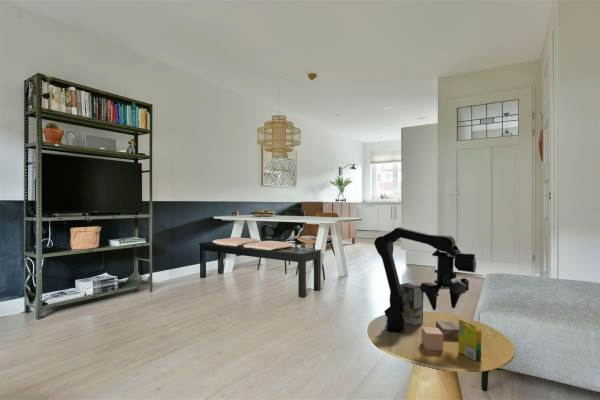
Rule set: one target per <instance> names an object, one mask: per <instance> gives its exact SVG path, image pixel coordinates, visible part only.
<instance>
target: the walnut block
mask: <svg viewBox="0 0 600 400" xmlns="http://www.w3.org/2000/svg"><path fill="white" fill-rule="evenodd" d="M435 328H439V330H440V331H441V332H442V333H443V339H447V340H449V339H450V340H453V339H454V340H459V321H450V320H449V321H448V320H447V321H445V320H444V321H443V320H436V321H435Z"/></svg>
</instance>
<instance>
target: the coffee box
mask: <svg viewBox="0 0 600 400" xmlns="http://www.w3.org/2000/svg"><path fill="white" fill-rule="evenodd" d="M400 286H401V289H402V291H403V292H404V293H408V299H409V301H410V302H409V307H408V309H406V310H405V311H404V313H402V315H403V318H404V323H406V324H409V325H411V326H418V325H422V324H423V323H424V292H423V291H422V290H420V285H417V284H414V283H411V282H405V283H400Z"/></svg>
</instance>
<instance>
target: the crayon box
mask: <svg viewBox="0 0 600 400" xmlns="http://www.w3.org/2000/svg"><path fill="white" fill-rule="evenodd" d="M458 322H459V339H458V353H460V354H462V355H463V356H466V357H467V358H470V359H472V360H473V361H479V360H482V330H479V329H477V327H476V325H473V324H471V323H469V322H466V321H463V320H462V319H458Z"/></svg>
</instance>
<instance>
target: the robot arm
mask: <svg viewBox="0 0 600 400" xmlns="http://www.w3.org/2000/svg"><path fill="white" fill-rule="evenodd" d="M401 238H402V239H405V240H409V241H414V242H417V243H422V244H426V245H429V246H430V247H432V248H433V249H436V250H435V251H434V252H433V253H432V254H431V255H432V256H433V257H437V262H436V263H437V264H436V266H437V267H436V269H434V273H436V279H435V280H434V283H432V282H430V281H429V282H422V283H420V285H419V286H420V290H422V291H423V294H424V293H425V295H426V297H427V299H428V301H429V304H430V306H431V308H432V310H433V311H436V309H437V301H438V300H437V298H438V297H439V296H440V293H439V292H440V290H448V289H449V298H450V305H451V308H452V309H455V308H456V306H457V304H458V302H459V299H460V297H461V296H462V295H463V294H465V293H467V292H468V291H469V288H470V287H469V286H470V285H469V284H470V282H469V281H470V280H469V279H468V278H466V277H465V278H464V277H463V278H458V277H457V273H456V272H455V271H454V268H455V269H456V270H457V271H458V272H459V271H460V272H467V273H476V270H477V261H476V253H466V252H465V253H464V252H462V251H461V250H460V248H458V246H457V245H456V240H455V239H454V237H453V236H452V235H447V234H445V235H444V234H429V233H426V232H421V231H416V230H413V229H408V228H405V227H403V226H400V227H395V228H394V229H393V230H391V231H390V232H388V233H386V234H384V235H381V236H377V237H376V238H375V239H374V247H375V250H376V253H378V255H379V256H380V258H381V259H382V264H383V267H384V271H385V276H386V280H387V284H388V287H389V298H388V299H389V307H388V308H386V309H385V310H384V311H383V312H384V315H385V317H386V320H385V321H386V325H385V328H386V330H387V332H390V333H405V322H404V318H403V315H402V313H404V311H405V310H406V309H408V307H409V302H410V301H409V299H408V293H404V292H403V291H402V289H401V286H400V284H401V283H400V279H399V275H398V271H397V268H396V264H395V260H394V256H393V255H394V243H395V242H397V241H399V239H401Z"/></svg>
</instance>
